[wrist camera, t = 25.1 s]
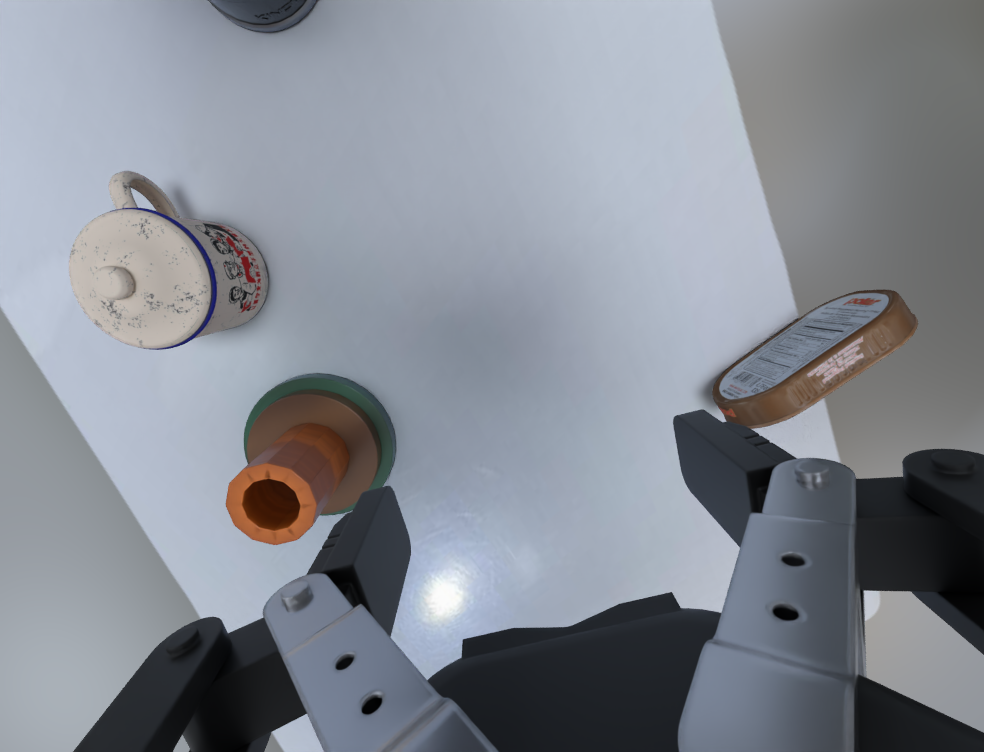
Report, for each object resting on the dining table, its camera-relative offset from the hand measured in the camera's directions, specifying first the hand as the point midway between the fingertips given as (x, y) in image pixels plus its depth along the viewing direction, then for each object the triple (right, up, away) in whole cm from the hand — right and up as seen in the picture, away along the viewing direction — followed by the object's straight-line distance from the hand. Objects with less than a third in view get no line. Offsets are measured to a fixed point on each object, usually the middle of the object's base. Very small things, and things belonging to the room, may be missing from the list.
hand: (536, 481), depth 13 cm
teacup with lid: (-24, +13, +26) cm, 38 cm away
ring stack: (-16, -3, +29) cm, 34 cm away
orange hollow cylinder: (-16, -4, +27) cm, 31 cm away
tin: (+23, +5, +28) cm, 37 cm away
